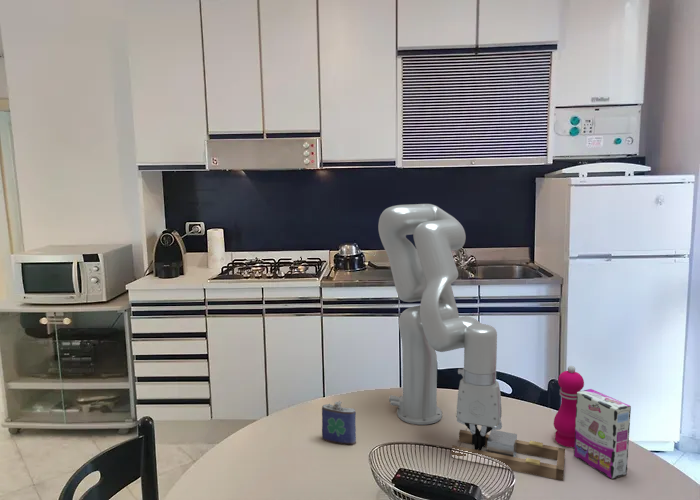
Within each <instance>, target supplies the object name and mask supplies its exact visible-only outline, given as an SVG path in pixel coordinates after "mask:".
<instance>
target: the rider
mask: <svg viewBox="0 0 700 500" xmlns="http://www.w3.org/2000/svg"><path fill="white" fill-rule="evenodd" d="M488 435H489V438H488V440H487V447H486V448H487V449H486V452H491V453H496V454H501V455H506V456H511V457H516V456H517V452H516V449H517V440H518V434H517V433H513V432H507V431H501V430H491V431H490V432H489V434H488ZM516 458H517V457H516Z"/></svg>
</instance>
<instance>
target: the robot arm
mask: <svg viewBox="0 0 700 500" xmlns="http://www.w3.org/2000/svg"><path fill="white" fill-rule="evenodd" d="M378 234H379V235H378V236H379V238H380V241H381V244H382V246H383V248H384V250H385V253H386V255H387V257H388V262H389V266H390V271H391V274H392V279H393V283H394V286H395V287H394V288H395V290H396V291H395V292H396V293H397V296H398V297H399V299H400V300H401V301H403V303H404V302H407V303H413V302H420V304H419V305H415V306H411V307H408V308H406V309H405V310H403V311H402V312H401V313H400V315H399V318H398V327H399V328H398V329H399V334H400V338H401V348H402V350H401V351H402V395H400V396H397V395H392V394H390V395H389V398H388V400H389V401H388V402H390V406H393V407H394V406H395V407H398V408H397V410H396V414H397V417H398V418H399V419H400V420H402V421H403V422H405V423H408V424H412V425H417V426H419V425H420V426H421V425H423V426H424V425H426V426H427V425H432V424H434V423H437V422H439V421H440V420H441V419H442V418H443V417H442V416H443V411H442V409H441V408H440V407H439V406H438V405H437V401H438V400H437V393H438V391H437V390H438V388H437V386H438V385H437V384H438V382H437V381H438V365H437V364H438V356H437V352H440V353H444V352H450V351H454V350H459V349H463V350H464V352H463V353H464V354H463V367H462V368H458V369H457V374H458V375H461V376H462V378H461V379H460V380H459V386H458V392H457V401H456V422H457V423H458V424H462V425H463V426H464V425H465V427H466V428H467V429H468V431H470V432H471V434H472V444H471V445H473V449H475V450H481V451H483V448H486V446H485V443H486V434H487V435H488V433H491V430H497V431H501V430H502V428H503V424H502V419H501V418H502V397H501V396H502V395H501V389H500V383H499V381H497V359H498V358H497V354H498V353H497V352H498V351H497V349H498V332H497V330H496V327H494V326H493V325H490V324H485V323H481V322H480V321H478V320H477V319H475V318H474V317H472V316H460V315H459V310H458V307H457V303H456V299H455V293H454V292H453V288H452V283H454V282H455V281H456V280H457V279H458V277H459V271H458V268H457V265H456V262H455V259H454V256H453V253H452V251H458V250H461V249H462V248H463V247H464V245H465V243H466V237H467V236H466V231H465V228H464V227H463V225H462V224H461V222H459V220H457V219H456V218H455V217H454V216H453V215H451V214H450V213H448V212H447V211H445V210H443V209H442V208H440V207H439V206H438V205H435V204H432V203H418V204H417V203H415V204H397V205H392V206H389V207H387V208H385V209H383V211H382V213H380V216H379V218H378ZM409 235H413V236H412V237H413V241H414V244H413V243H412V241H410V240H409V239H408V238H407V236H409ZM478 426H481V427H480V429H479V428H478Z"/></svg>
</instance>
